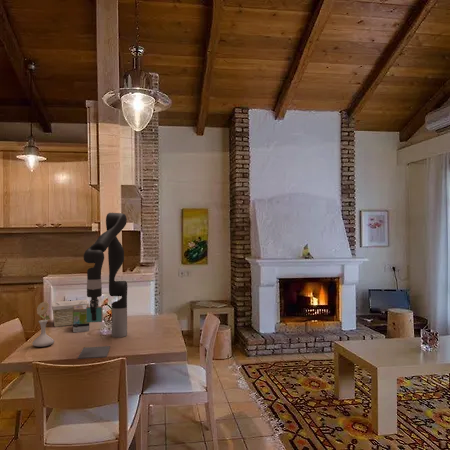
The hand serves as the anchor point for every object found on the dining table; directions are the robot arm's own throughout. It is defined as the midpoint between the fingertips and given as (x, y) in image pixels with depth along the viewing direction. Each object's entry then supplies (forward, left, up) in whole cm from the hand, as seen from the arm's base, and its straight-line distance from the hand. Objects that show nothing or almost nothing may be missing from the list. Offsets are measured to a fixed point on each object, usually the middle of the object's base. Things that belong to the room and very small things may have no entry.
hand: (94, 319), depth 220 cm
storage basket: (-71, -26, -17) cm, 77 cm away
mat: (+2, 0, -17) cm, 17 cm away
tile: (0, 0, -1) cm, 1 cm away
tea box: (-52, -16, -17) cm, 57 cm away
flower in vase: (-17, -30, -17) cm, 38 cm away
